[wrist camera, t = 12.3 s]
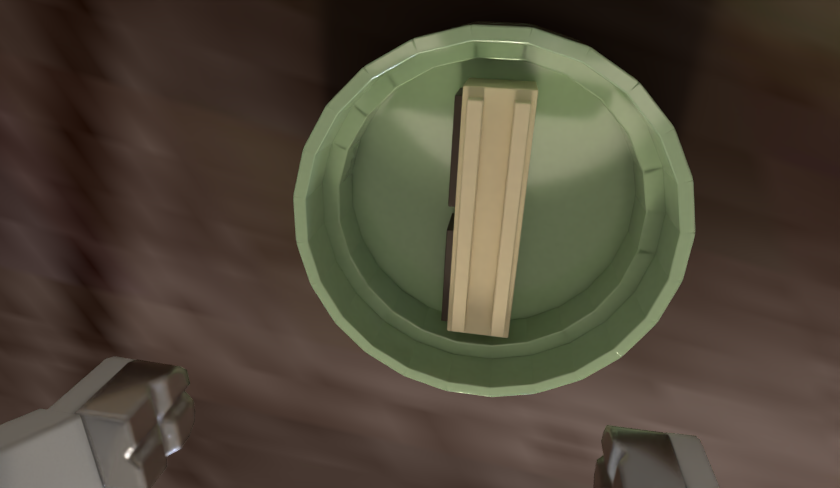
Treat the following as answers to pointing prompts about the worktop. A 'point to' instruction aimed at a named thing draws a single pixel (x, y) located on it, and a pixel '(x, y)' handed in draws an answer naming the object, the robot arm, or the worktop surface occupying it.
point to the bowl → (542, 219)
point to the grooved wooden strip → (486, 202)
